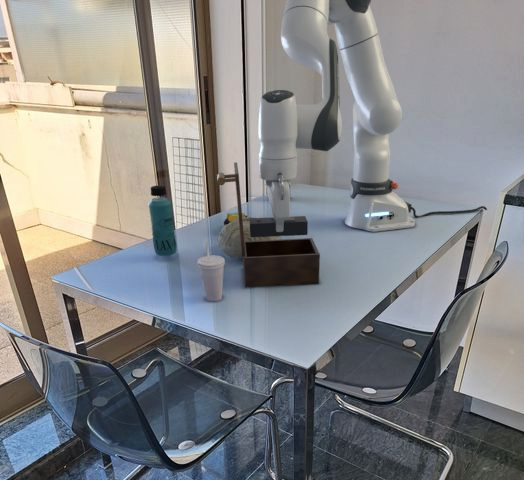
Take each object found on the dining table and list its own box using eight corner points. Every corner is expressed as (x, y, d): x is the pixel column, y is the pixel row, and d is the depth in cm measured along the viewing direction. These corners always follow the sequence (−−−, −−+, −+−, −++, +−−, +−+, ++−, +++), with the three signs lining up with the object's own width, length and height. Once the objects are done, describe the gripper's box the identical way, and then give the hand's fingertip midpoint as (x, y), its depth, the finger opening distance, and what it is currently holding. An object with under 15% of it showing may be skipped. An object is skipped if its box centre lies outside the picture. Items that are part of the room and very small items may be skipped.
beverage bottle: (151, 259, 143) (140, 188, 133) (162, 251, 149) (153, 182, 138) (171, 262, 141) (161, 190, 131) (182, 254, 147) (174, 184, 136)
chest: (311, 265, 137) (312, 237, 133) (318, 283, 127) (319, 254, 122) (243, 269, 136) (242, 241, 132) (245, 287, 126) (243, 258, 122)
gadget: (249, 227, 170) (248, 210, 168) (244, 233, 158) (243, 215, 156) (230, 226, 171) (230, 210, 169) (223, 233, 159) (223, 215, 156)
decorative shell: (271, 269, 135) (270, 233, 130) (209, 264, 140) (206, 228, 134) (287, 247, 149) (287, 213, 144) (231, 242, 154) (229, 210, 149)
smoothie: (201, 293, 124) (195, 238, 116) (227, 291, 124) (223, 236, 117) (200, 304, 118) (194, 247, 111) (227, 302, 119) (223, 246, 111)
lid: (237, 162, 121) (216, 163, 121) (238, 173, 111) (216, 175, 111) (243, 239, 132) (224, 241, 131) (245, 256, 121) (224, 258, 121)
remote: (304, 229, 128) (305, 214, 126) (307, 235, 124) (307, 220, 122) (249, 231, 127) (249, 217, 125) (250, 237, 123) (250, 222, 121)
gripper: (297, 179, 109) (296, 240, 116) (286, 160, 126) (286, 214, 133) (268, 180, 108) (268, 241, 116) (261, 160, 126) (262, 215, 133)
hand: (278, 227), depth 125 cm, fingers closed on remote, 4 cm apart
